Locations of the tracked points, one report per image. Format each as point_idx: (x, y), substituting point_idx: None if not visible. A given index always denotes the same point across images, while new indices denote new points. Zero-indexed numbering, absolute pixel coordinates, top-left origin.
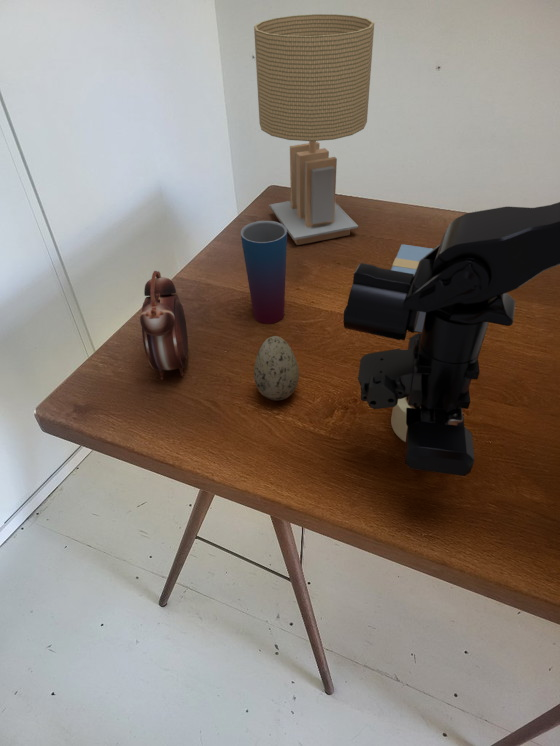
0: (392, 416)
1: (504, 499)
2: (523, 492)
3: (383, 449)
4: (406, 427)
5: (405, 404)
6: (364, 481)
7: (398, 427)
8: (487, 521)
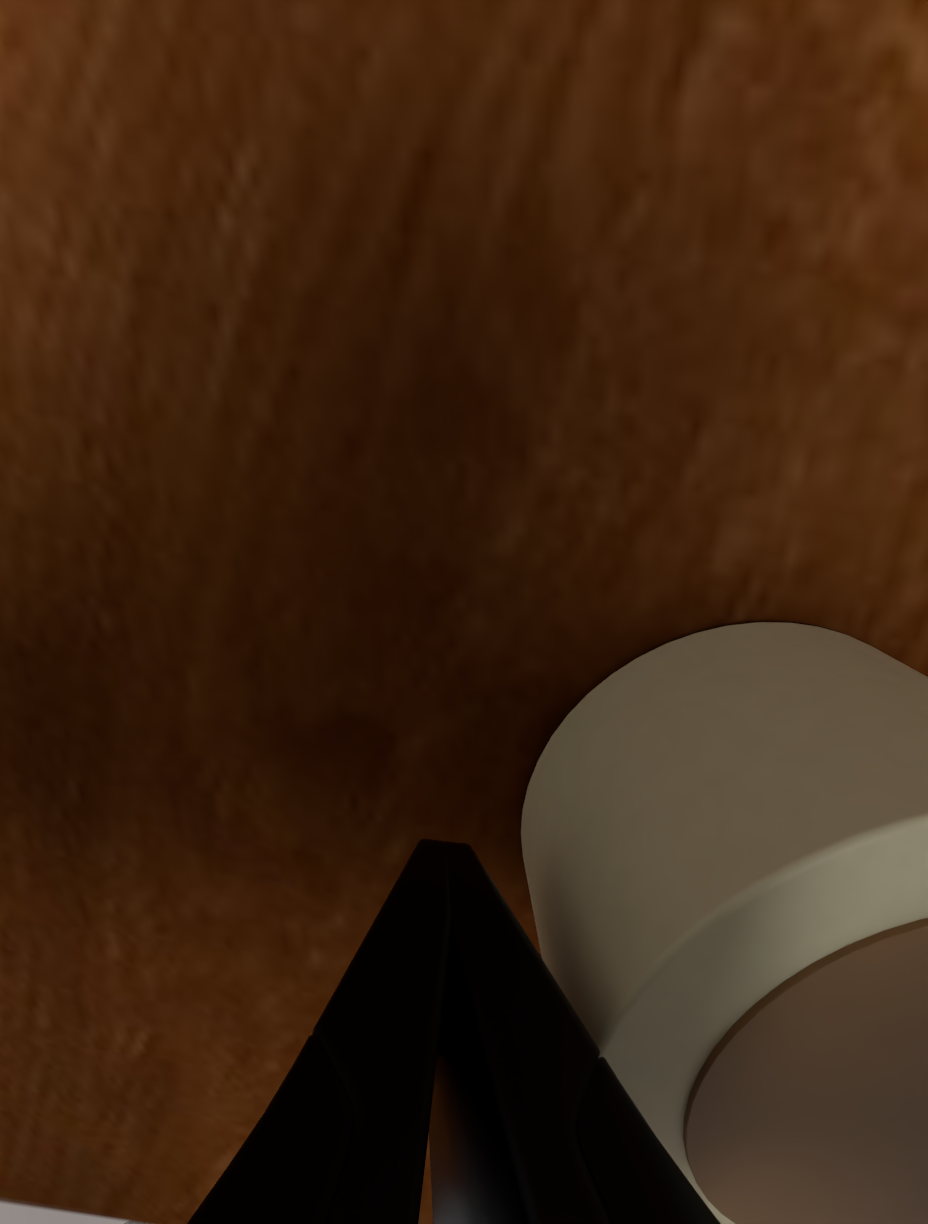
0: (824, 656)
1: (186, 1091)
2: None
3: (529, 533)
4: (645, 776)
5: (908, 900)
6: (195, 335)
7: (689, 690)
8: (30, 1011)
